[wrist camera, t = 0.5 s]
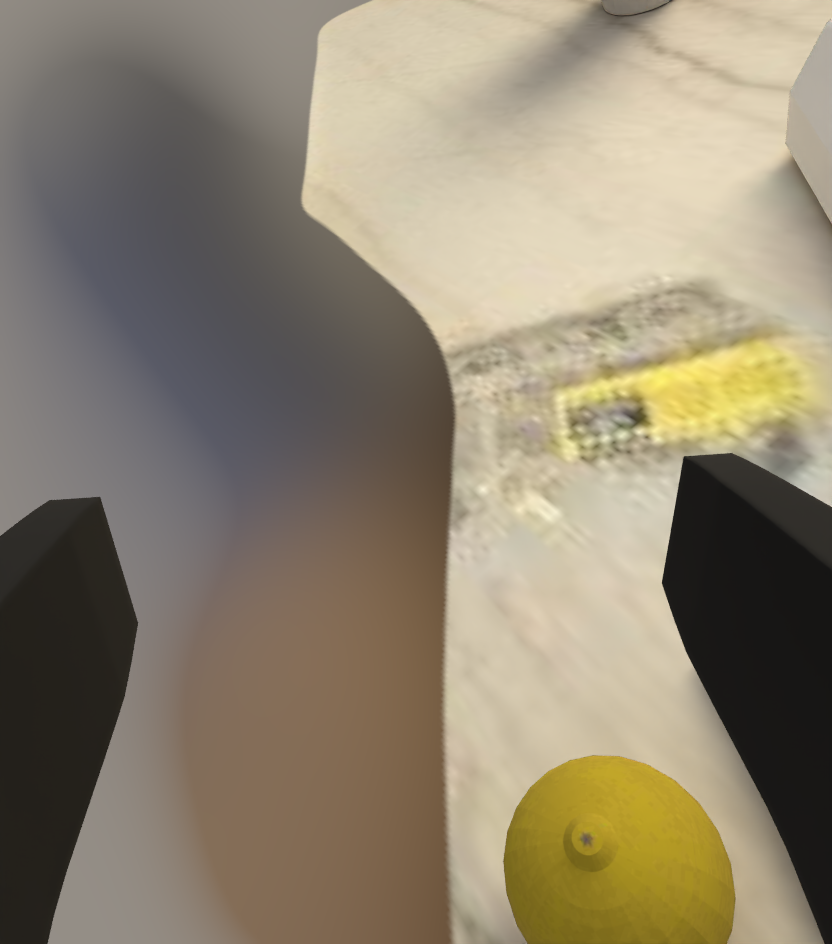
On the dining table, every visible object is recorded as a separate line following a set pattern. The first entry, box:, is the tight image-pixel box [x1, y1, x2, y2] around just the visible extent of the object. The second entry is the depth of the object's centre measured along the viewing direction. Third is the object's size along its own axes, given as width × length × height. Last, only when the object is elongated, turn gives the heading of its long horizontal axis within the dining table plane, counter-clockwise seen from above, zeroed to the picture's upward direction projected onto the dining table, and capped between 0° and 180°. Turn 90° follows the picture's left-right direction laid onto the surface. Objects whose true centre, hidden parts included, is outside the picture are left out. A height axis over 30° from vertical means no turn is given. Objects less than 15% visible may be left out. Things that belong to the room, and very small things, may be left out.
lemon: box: [503, 756, 736, 944], centre depth 20 cm, size 6×6×8 cm
